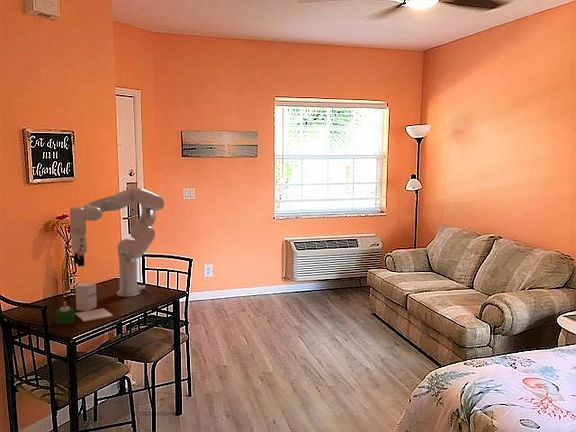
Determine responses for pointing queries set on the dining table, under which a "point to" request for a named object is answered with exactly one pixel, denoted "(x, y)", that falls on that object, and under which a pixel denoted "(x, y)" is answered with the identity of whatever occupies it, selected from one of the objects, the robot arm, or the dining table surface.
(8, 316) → the dining table surface
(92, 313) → the mat
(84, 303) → the supplement box
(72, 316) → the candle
